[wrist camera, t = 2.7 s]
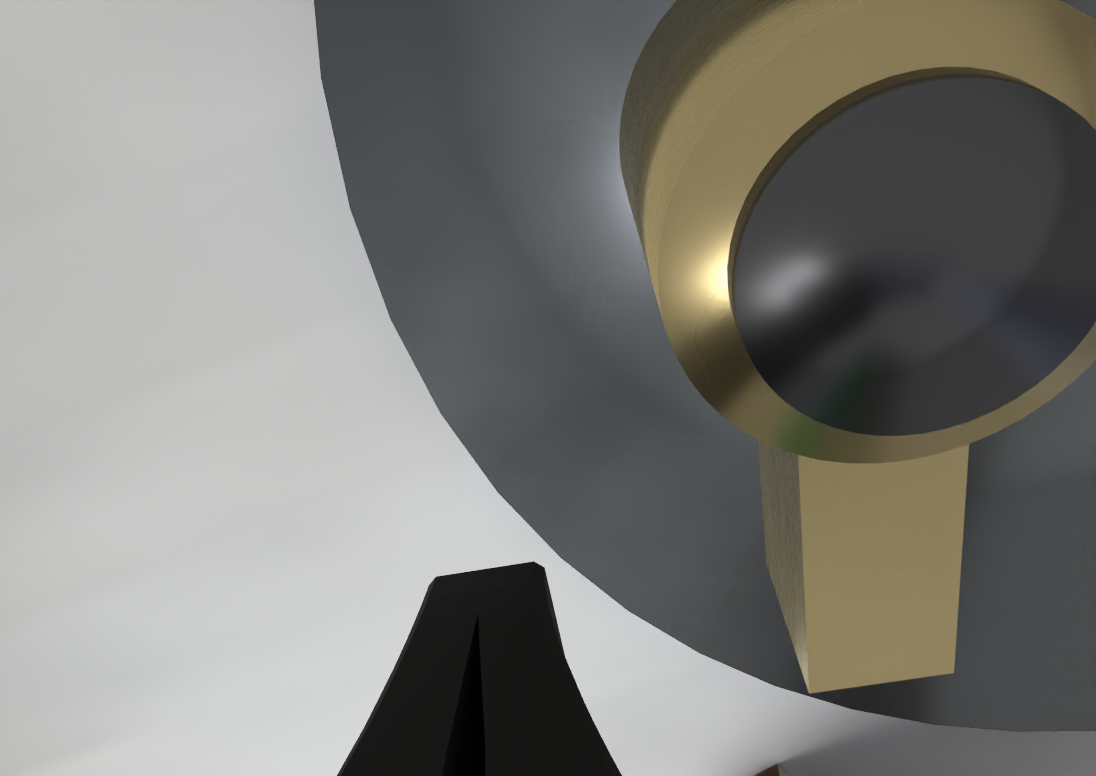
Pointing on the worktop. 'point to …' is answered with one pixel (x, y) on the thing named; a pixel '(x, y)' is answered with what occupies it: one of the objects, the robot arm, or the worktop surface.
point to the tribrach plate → (651, 360)
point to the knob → (868, 276)
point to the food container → (773, 771)
